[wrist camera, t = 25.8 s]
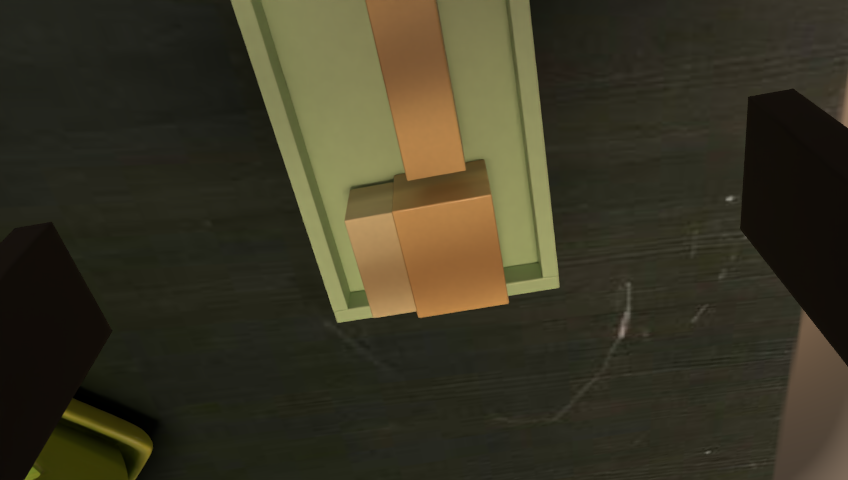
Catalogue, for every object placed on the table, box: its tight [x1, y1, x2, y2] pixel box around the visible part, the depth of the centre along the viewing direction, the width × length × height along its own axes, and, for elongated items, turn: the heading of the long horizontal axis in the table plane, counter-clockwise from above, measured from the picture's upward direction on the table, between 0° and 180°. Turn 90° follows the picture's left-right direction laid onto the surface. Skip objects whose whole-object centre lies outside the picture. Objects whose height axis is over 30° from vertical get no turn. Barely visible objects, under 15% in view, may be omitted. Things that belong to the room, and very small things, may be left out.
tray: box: [231, 0, 560, 323], centre depth 30 cm, size 23×12×2 cm, turn 11°
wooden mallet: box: [344, 0, 509, 318], centre depth 29 cm, size 19×7×4 cm, turn 11°
